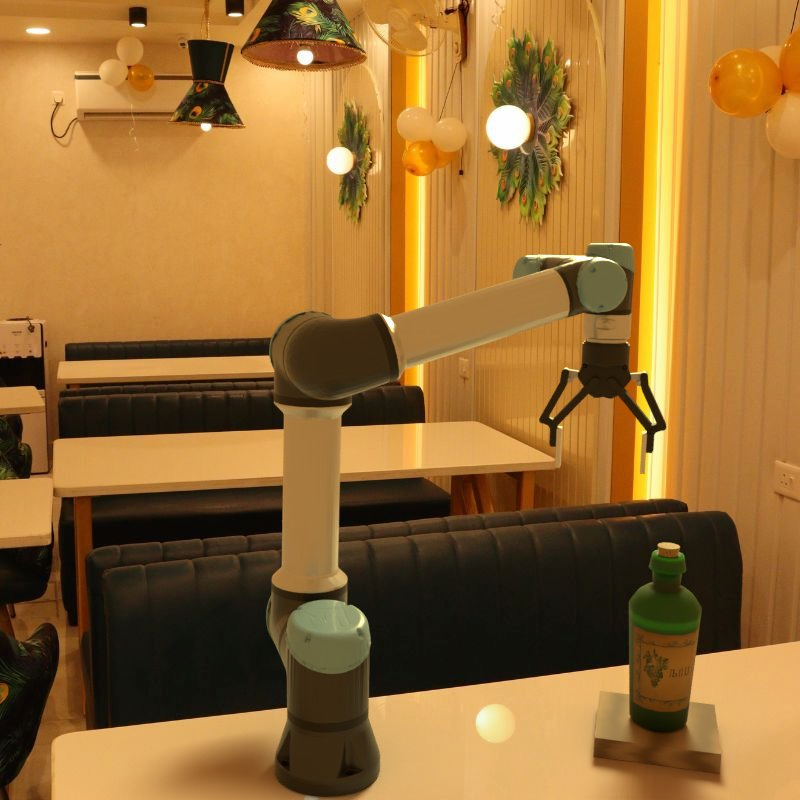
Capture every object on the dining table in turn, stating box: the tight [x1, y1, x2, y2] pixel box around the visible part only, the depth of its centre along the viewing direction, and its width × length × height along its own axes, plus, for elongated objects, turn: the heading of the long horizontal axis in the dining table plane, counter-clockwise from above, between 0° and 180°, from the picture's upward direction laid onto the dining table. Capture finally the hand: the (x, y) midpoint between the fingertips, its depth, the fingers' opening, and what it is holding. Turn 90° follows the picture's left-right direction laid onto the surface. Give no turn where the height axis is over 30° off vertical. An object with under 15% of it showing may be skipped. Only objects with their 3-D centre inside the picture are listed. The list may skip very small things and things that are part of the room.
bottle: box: [628, 542, 703, 732], centre depth 152 cm, size 11×11×28 cm
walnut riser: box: [593, 690, 722, 774], centre depth 154 cm, size 18×16×3 cm
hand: (599, 469), depth 164 cm, fingers open, 13 cm apart
